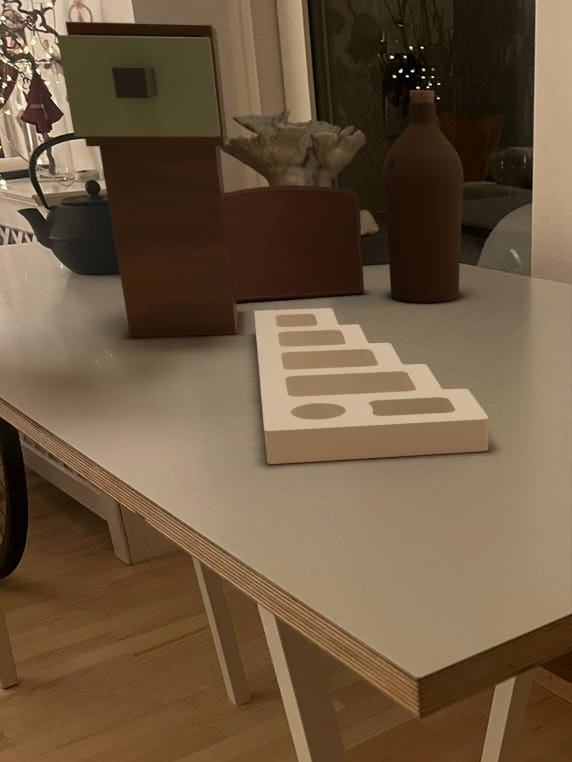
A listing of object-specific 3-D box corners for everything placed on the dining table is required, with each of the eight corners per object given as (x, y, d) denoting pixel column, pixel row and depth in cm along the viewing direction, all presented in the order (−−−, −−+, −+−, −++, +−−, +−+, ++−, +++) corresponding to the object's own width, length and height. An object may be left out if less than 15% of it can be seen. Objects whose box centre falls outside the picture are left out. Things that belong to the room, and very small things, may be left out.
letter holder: (365, 294, 138) (360, 183, 131) (222, 304, 131) (208, 188, 124) (343, 281, 146) (338, 177, 139) (208, 291, 139) (194, 180, 132)
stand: (244, 337, 115) (211, 24, 99) (119, 342, 112) (65, 21, 97) (245, 312, 127) (216, 29, 111) (132, 316, 124) (85, 26, 109)
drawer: (217, 142, 90) (205, 34, 86) (58, 142, 88) (38, 31, 84) (223, 129, 110) (214, 41, 106) (93, 129, 107) (78, 38, 103)
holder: (256, 334, 116) (254, 310, 115) (407, 328, 120) (407, 305, 118) (267, 464, 78) (264, 431, 77) (489, 450, 82) (489, 418, 80)
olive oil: (446, 307, 131) (445, 91, 119) (374, 300, 134) (365, 90, 122) (473, 292, 140) (475, 90, 127) (405, 286, 143) (400, 89, 130)
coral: (238, 273, 151) (220, 114, 140) (212, 253, 167) (195, 109, 156) (392, 263, 160) (387, 113, 149) (354, 245, 176) (347, 109, 165)
